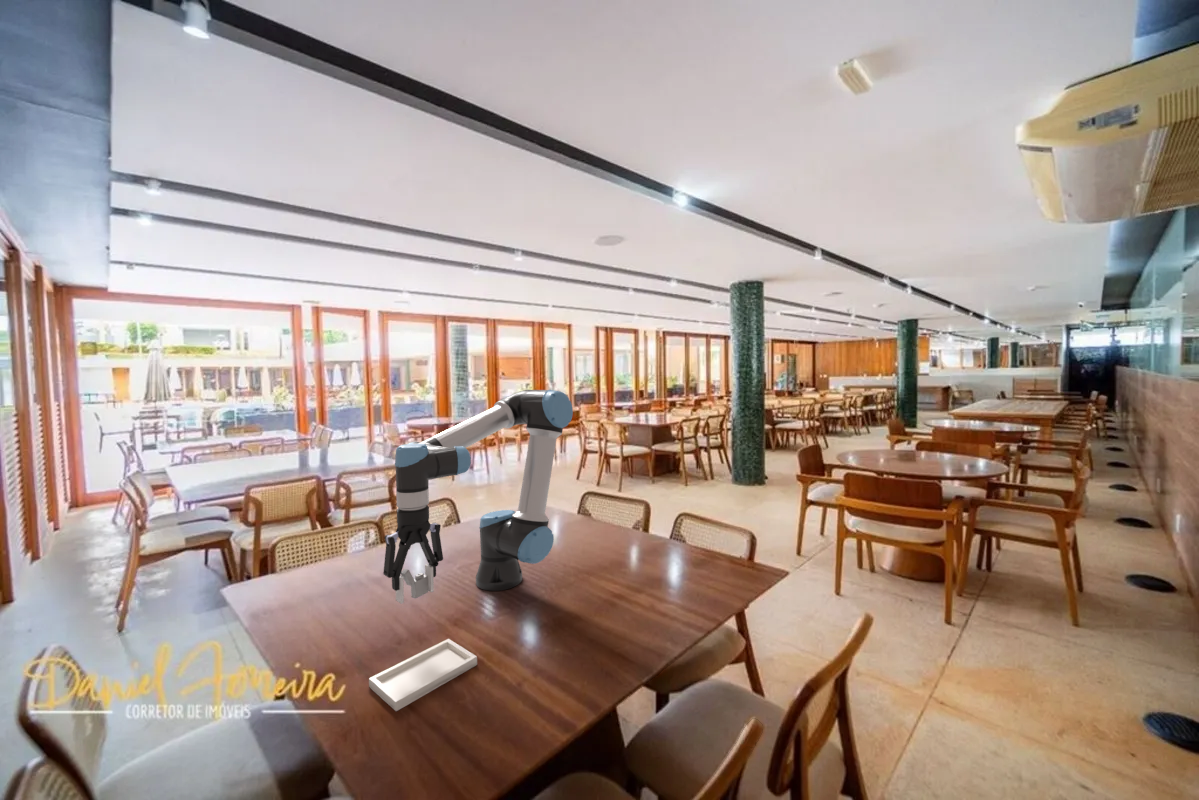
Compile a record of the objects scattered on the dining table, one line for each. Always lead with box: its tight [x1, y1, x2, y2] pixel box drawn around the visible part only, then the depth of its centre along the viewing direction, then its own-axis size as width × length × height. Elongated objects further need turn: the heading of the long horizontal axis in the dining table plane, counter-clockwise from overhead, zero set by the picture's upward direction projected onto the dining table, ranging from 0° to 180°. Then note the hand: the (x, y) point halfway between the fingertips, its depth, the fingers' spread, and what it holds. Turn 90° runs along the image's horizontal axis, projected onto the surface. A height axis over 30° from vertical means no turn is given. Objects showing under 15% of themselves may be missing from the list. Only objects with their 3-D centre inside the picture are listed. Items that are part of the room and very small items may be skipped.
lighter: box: [400, 568, 429, 599], centre depth 119 cm, size 7×2×8 cm, turn 152°
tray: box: [368, 638, 478, 712], centre depth 109 cm, size 20×12×2 cm, turn 140°
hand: (415, 595), depth 120 cm, fingers closed on lighter, 7 cm apart
